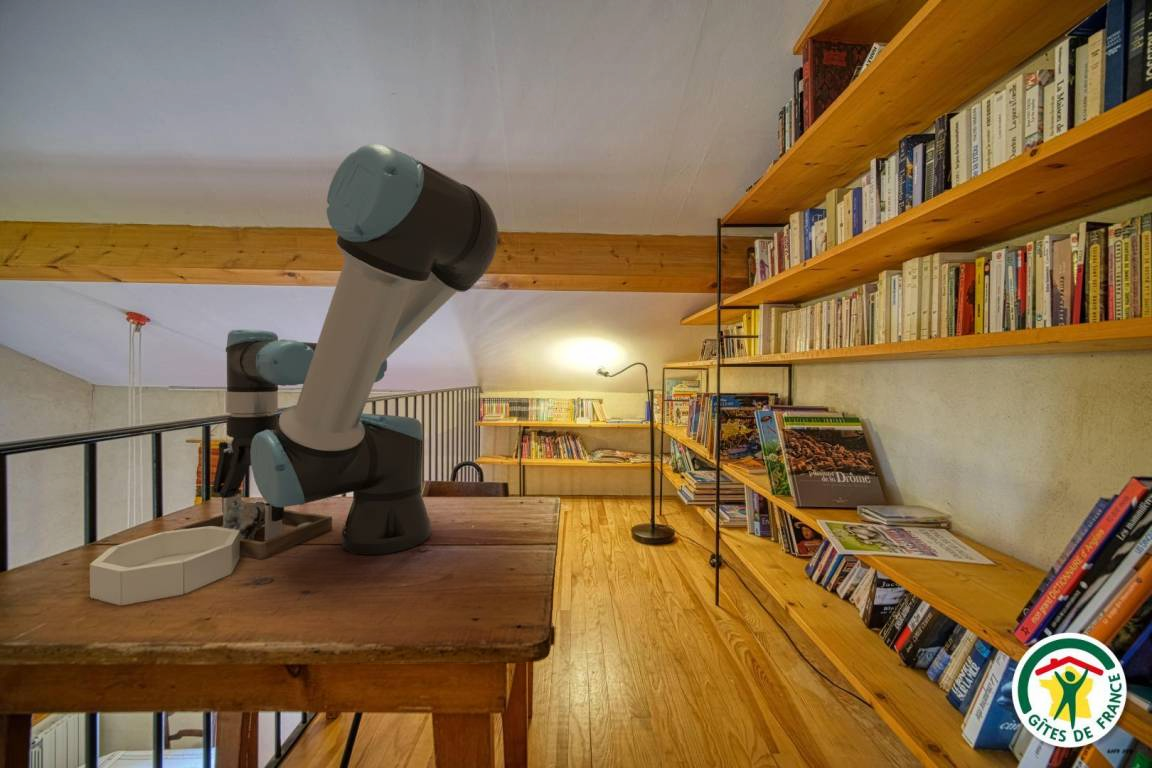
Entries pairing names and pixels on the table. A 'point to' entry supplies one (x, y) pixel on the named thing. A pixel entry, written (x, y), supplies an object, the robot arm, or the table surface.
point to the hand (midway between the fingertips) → (252, 534)
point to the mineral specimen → (245, 518)
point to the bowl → (164, 564)
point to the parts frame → (280, 542)
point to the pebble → (303, 524)
